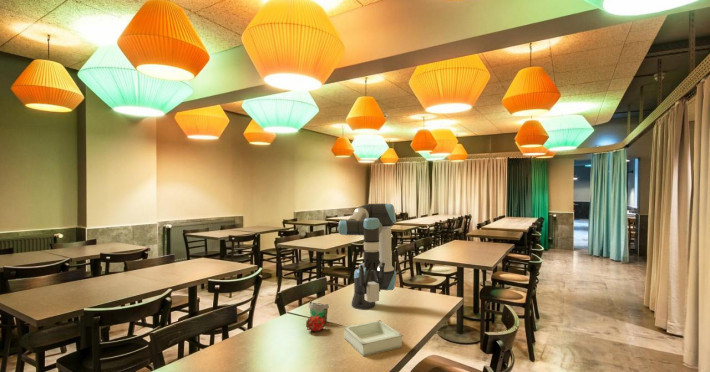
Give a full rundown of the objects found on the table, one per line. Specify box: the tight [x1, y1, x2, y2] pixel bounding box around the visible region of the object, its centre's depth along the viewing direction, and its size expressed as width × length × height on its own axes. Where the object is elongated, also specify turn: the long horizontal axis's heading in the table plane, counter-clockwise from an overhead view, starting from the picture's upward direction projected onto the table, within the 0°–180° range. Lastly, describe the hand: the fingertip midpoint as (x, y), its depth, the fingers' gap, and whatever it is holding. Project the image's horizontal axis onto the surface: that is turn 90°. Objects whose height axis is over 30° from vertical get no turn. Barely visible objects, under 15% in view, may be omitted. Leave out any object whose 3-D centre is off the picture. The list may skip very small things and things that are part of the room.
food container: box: [308, 300, 329, 323], centre depth 190 cm, size 12×6×10 cm, turn 62°
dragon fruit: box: [305, 316, 327, 333], centre depth 178 cm, size 8×8×12 cm
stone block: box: [367, 282, 380, 303], centre depth 163 cm, size 5×5×8 cm
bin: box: [343, 320, 404, 357], centre depth 163 cm, size 21×21×6 cm
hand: (371, 299), depth 163 cm, fingers closed on stone block, 5 cm apart
